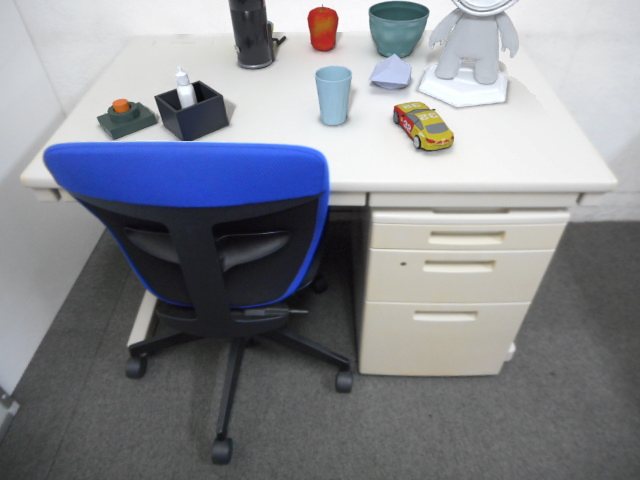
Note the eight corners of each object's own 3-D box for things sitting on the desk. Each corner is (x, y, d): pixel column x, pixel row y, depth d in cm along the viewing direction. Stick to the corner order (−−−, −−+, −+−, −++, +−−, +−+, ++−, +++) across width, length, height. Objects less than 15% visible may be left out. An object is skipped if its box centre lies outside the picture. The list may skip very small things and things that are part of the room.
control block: (142, 110, 97) (136, 94, 94) (157, 123, 93) (151, 106, 90) (100, 125, 93) (92, 109, 90) (113, 139, 88) (106, 123, 85)
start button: (126, 104, 92) (124, 97, 90) (132, 109, 90) (129, 102, 89) (112, 109, 90) (109, 101, 89) (118, 114, 88) (115, 107, 87)
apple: (305, 53, 118) (303, 8, 110) (312, 42, 124) (311, -2, 115) (335, 55, 117) (335, 9, 108) (340, 44, 122) (341, -1, 114)
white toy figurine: (413, 101, 97) (440, -88, 72) (430, 62, 112) (457, -105, 87) (503, 114, 92) (566, -85, 66) (507, 71, 106) (560, -104, 81)
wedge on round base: (404, 98, 98) (412, 74, 107) (408, 69, 93) (415, 48, 102) (367, 93, 100) (377, 71, 109) (369, 66, 95) (379, 45, 104)
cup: (342, 131, 88) (342, 84, 81) (310, 123, 91) (308, 77, 83) (356, 115, 93) (357, 69, 86) (325, 108, 96) (324, 63, 88)
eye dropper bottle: (179, 127, 89) (162, 72, 81) (189, 114, 93) (175, 60, 85) (198, 128, 89) (183, 73, 80) (208, 115, 93) (194, 61, 84)
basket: (206, 109, 97) (199, 80, 92) (229, 125, 91) (222, 95, 86) (163, 125, 92) (153, 96, 87) (184, 143, 86) (175, 113, 81)
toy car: (419, 110, 94) (422, 89, 90) (458, 151, 82) (463, 128, 78) (387, 116, 92) (390, 95, 89) (422, 158, 81) (426, 136, 77)
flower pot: (434, 56, 114) (442, 14, 106) (383, 67, 110) (387, 24, 102) (404, 37, 125) (409, -3, 117) (356, 46, 121) (358, 5, 113)
